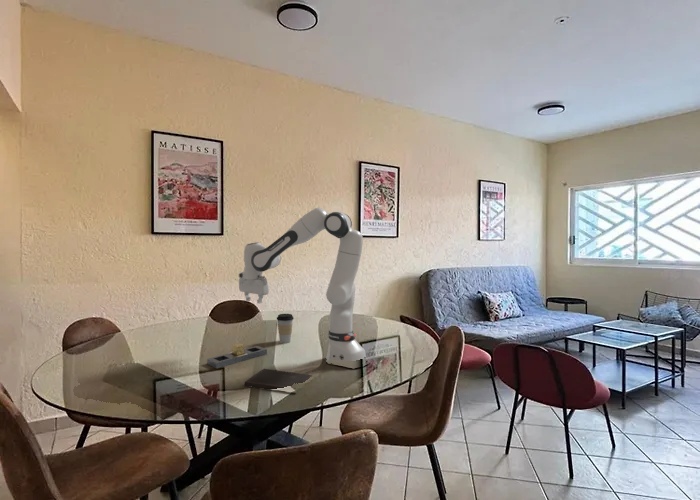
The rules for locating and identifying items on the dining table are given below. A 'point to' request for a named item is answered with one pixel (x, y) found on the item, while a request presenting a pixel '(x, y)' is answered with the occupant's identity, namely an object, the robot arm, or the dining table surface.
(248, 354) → the grey slotted tray
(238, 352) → the block
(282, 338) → the coffee cup
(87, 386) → the dining table surface
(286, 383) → the hardcover book
